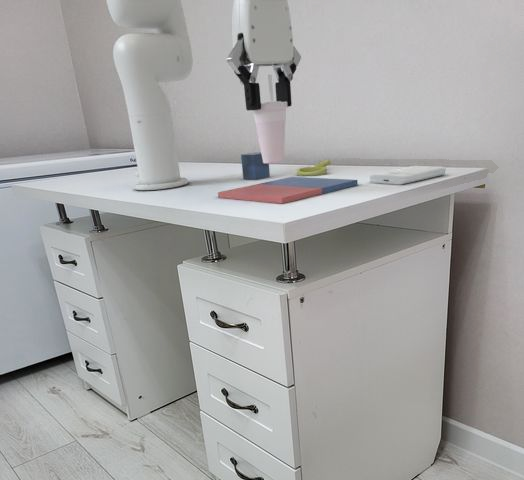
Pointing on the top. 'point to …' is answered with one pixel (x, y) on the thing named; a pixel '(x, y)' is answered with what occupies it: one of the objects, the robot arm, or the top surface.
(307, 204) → the top surface
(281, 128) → the smoothie
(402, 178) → the hard drive
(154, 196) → the top surface
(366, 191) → the top surface
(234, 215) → the top surface
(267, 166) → the blue block
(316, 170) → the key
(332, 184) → the board
